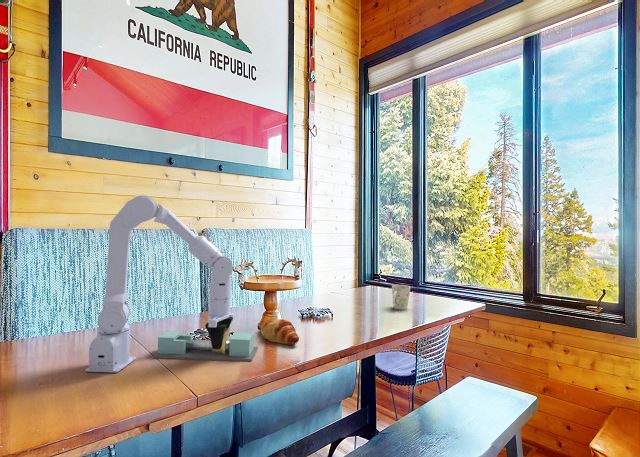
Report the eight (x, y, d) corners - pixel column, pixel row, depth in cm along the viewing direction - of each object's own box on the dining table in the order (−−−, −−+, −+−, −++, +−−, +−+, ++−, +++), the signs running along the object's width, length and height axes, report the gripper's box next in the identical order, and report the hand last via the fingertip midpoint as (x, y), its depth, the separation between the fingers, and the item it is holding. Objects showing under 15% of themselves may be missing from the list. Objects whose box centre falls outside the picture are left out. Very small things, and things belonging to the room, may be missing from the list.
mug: (412, 307, 171) (412, 286, 171) (402, 313, 160) (403, 289, 160) (394, 305, 175) (395, 284, 175) (384, 310, 164) (385, 287, 164)
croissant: (255, 342, 127) (245, 322, 125) (277, 324, 133) (268, 305, 130) (290, 359, 111) (280, 338, 108) (314, 338, 116) (304, 317, 114)
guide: (153, 358, 100) (153, 339, 100) (168, 345, 110) (169, 328, 110) (251, 361, 100) (251, 342, 100) (257, 348, 110) (258, 331, 110)
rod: (183, 352, 103) (183, 331, 103) (189, 346, 107) (189, 326, 107) (240, 354, 103) (240, 332, 103) (243, 348, 107) (244, 328, 107)
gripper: (227, 303, 98) (226, 355, 98) (240, 293, 112) (239, 338, 112) (201, 303, 98) (199, 354, 98) (216, 292, 112) (215, 337, 112)
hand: (219, 345), depth 105 cm, fingers closed on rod, 4 cm apart
